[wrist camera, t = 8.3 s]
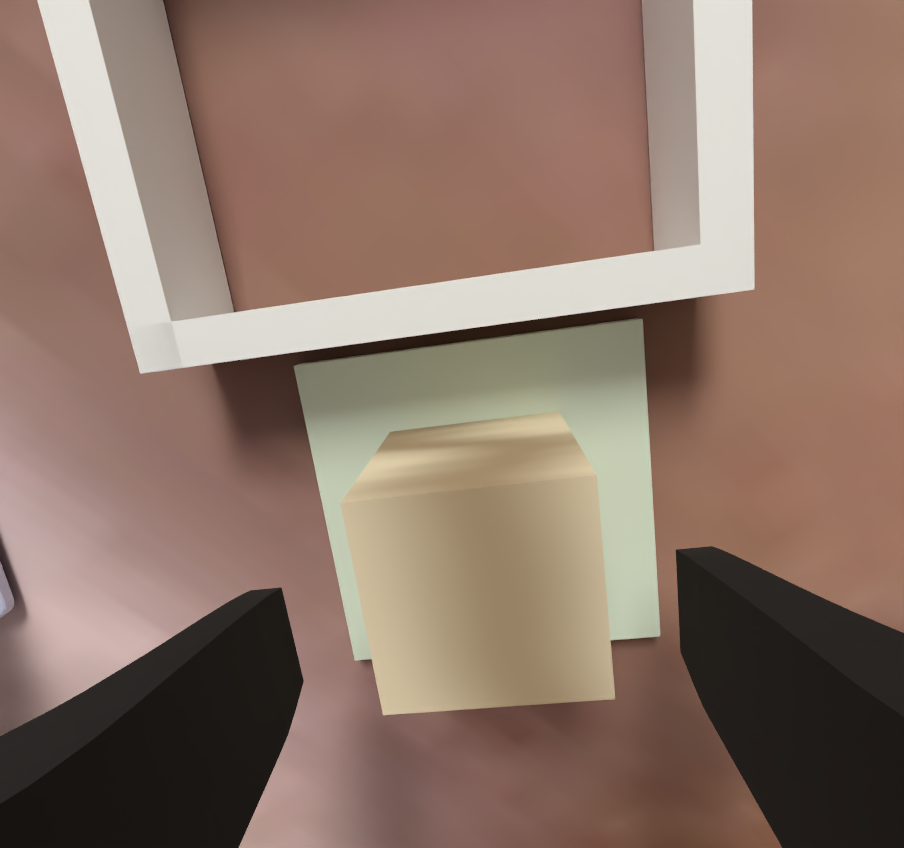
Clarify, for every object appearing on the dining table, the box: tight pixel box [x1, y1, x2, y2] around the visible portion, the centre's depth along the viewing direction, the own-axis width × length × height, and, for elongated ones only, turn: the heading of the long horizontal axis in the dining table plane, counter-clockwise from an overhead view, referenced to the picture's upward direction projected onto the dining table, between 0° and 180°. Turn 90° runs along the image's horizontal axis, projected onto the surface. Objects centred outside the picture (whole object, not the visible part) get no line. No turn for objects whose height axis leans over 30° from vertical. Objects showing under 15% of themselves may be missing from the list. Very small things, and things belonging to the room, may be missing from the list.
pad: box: [294, 318, 660, 660], centre depth 15 cm, size 9×9×1 cm
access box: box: [37, 0, 754, 373], centre depth 11 cm, size 13×12×3 cm
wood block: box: [340, 411, 615, 715], centre depth 12 cm, size 4×4×5 cm
